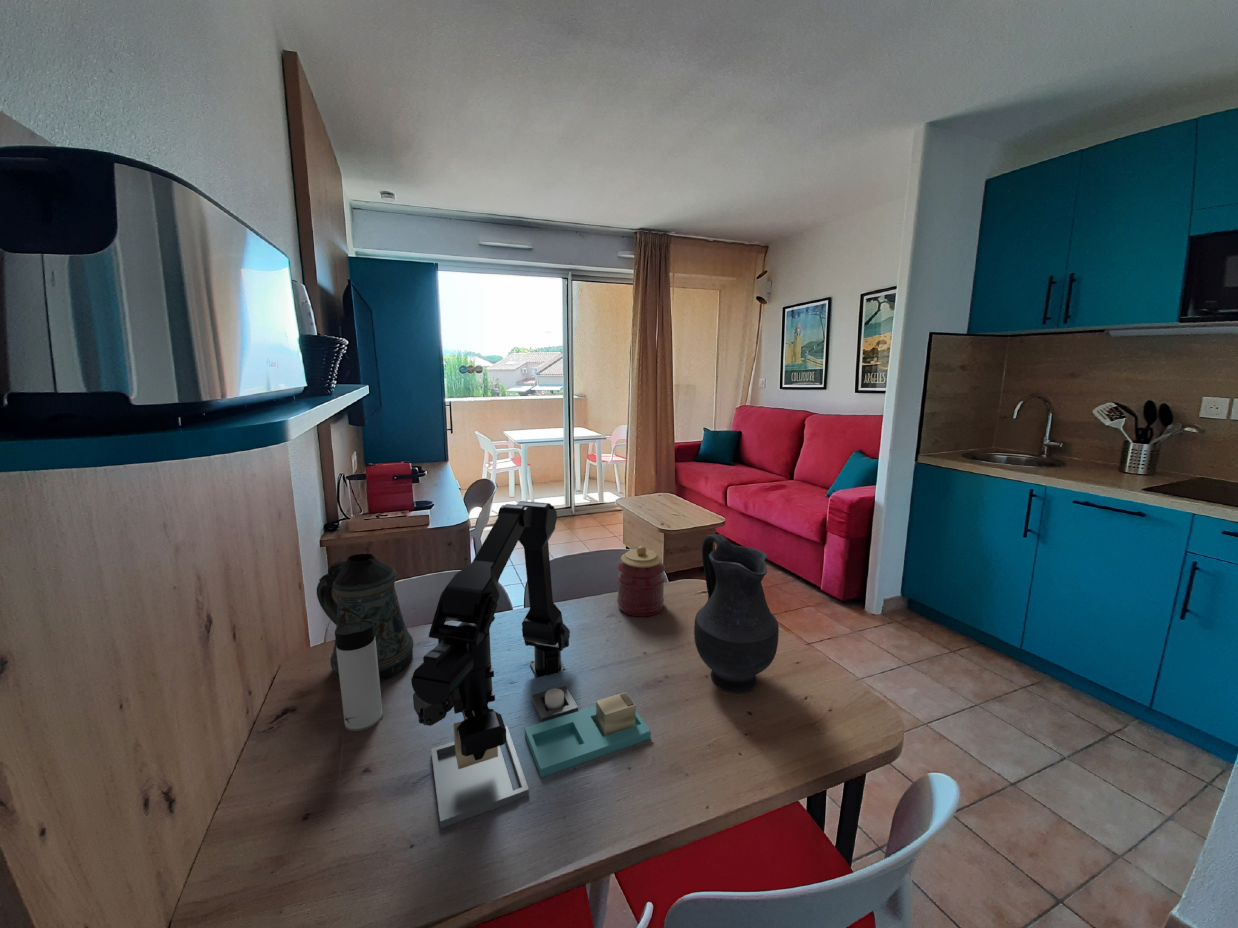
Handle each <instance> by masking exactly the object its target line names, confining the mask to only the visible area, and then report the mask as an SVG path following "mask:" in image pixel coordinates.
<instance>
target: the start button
mask: <svg viewBox="0 0 1238 928" xmlns="http://www.w3.org/2000/svg"><path fill="white" fill-rule="evenodd" d="M546 691H547V692H546V693H545V703H544V707H545V709H546V711H547V712H548V711H551V710H554V709H558V708H561V707H564V706H565V703H564V692H563V691H562V690H560V689H555V688H550V689H548V690H546Z"/></svg>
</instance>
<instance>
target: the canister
mask: <svg viewBox="0 0 1238 928" xmlns="http://www.w3.org/2000/svg"><path fill="white" fill-rule="evenodd" d="M617 569H618V571H619V573H618V575H617V577H616V578H617V598H616V599H617V600H616V601H617V605H618V609H619V610H620V611H621V612H623V613H624V614H627V615H629V616H633V617H641V618H642V617H643V618H644V617H650V616H651V617H652V616H654V615H657V614H659V613H660V612H661V611H662V609H663V607H664V605H665V598H664V583H665V576H664V572H665V570H666V566H665V564H664V563H663V558H662V556H661V555H660V554H658V553H656V551H653V550H652V549H647V548H646V547H645V546H644V545H639V546H638V547H637V548H635V549H634V548H633V549H631V550H628V551H627V552H625V553H623V554H622V555H621V556H620V561H619V563H618V564H617Z"/></svg>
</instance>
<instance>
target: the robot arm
mask: <svg viewBox="0 0 1238 928" xmlns="http://www.w3.org/2000/svg"><path fill="white" fill-rule="evenodd" d="M557 520H558V512H557V510H556V509H555V506H554V505H552V504H551V503H549V502H537V501H527V500H526V501H524V500H519V501H518V502H517V503H516V504H511V503H506V504H503V505H501V506H500V507H499V509H498V513H497V519H496V520H495V522H494V523H493V525H492V527H491V529H490V530H489V533H488V534H487V536H486V538H485V539H484V541H483V542H482V544H481V546H480V548H479V550H478V551H477V554H476V555H475V557H474V558H473V560H472V561H471V562H470V565H468V566H466V567H464V568H463V569H461V570H459V571H458V572H457V573H455V574H454V576H453V577H452V578H451V579H450V580H449V582H448V584H446V586H445V587H444V589H443V590H442V592H441V594H440V597H439V600H438V603H437V606H436V609H435V611H434V612H435V613H434V617H433V620H432V623H431V626H430V629H429V632H428V638H430V639H437V640H438V642H437V643H438V644H437V645H436V646H435V647H434V648H433V649H431V650H429V651H428V652H427V653H426V654H425V655H424V656H423V657H422V660H423V661H422V663H421V664H419V666H417V668H415V670H414V671H413V673H412V677H411V678H410V679H411V687H412V690H413V695H412V703H413V709H414V711H415V713H416V716H418V717H417V718H418V723H419V724H423V726H428V727H429V726H430V727H431V726H433V725H435V724H437V723H438V722H441V721H442V720H443V719H445V718H446V716H447V714H448V713H449V712H450V711H452V710H453V712H454V713H453V714H459V713H461V714H462V717H463V720H462V721H463V722H462V723H461V724H460V725H459V726H458V728H457V733H458V738H459V744H460V749H461V754H462V755H464V756H469V755H474V758H475V760H480V759H482V758H483V756H484V754H485V752H486V750H488V749H491V748H495V747H498V746H500V747H501V746H503V745H505V744H506V728H505V726H506V725H505V723H504V719H503V716H502V714H501V713H498V711H495V709H493V708H489V706H488V705H489V703H491V702H495V701H496V695H495V694H496V693H495V691H494V688H493V680H492V679H493V678H494V677H495V669H494V667H493V665H492V656H491V655H492V654H491V635H490V633H491V632H490V628H491V626H492V623H493V622H494V621H495V620H496V619H495V618H496V617H495V614H496V611H497V608H498V600H499V598H500V589H499V585H498V584H499V581H500V577H501V576H502V573H503V571H504V570H505V568H506V565H507V564H508V562H509V559H510V558H511V555H512V554H513V552H514V549H516V546H517V544H518V542H519V543H520V545H522V547H523V550H524V551H523V552H524V560H525V562H524V563H525V573H526V584H527V593H528V601H529V603H528V604H529V609H528V611H527V614H526V615H525V617H524V618H523V621H522V622H521V627H522V628H521V631H522V638H523V641H524V645H525V646H527V647H528V646H529V647H534V660H531V661H530V662H529V664H530V666H531V669H532V671H533V673H534V675H535V678H536V679H537V678H541V677H545V676H551V675H556V674H559V673H560V672H563V671H567V669H566V666H565V664H564V663H563V661H562V651H563V650H564V649H566V648H568V647H569V646H570V637H571V635H570V633H571V629H569V628H568V627H567V625H566V624H565V623H564V621H563V614H562V611H561V610H560V609H559V608H558V606H556V604H555V602H554V598H553V587H552V586H553V585H552V574H551V573H552V572H551V561H550V560H551V559H550V549H549V548H550V547H549V540H550V539H551V537H552V535H553V533H554V532H555V530H556V524H557ZM446 621H452V622H459V624H458V625H451V624H446Z"/></svg>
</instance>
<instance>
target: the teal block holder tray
mask: <svg viewBox="0 0 1238 928" xmlns="http://www.w3.org/2000/svg"><path fill="white" fill-rule="evenodd" d="M651 735H652V732H651V729H650V728H649V727H648V725H647V723H645V721H644V719H642V717H641V715H639V712H638V711H637V710H636V717H635V726H634V727H631V728H628V729H625V730H622V731H619V732H616V733H613V734H610V735H607V736H604V737H603V736H602V734H601V732H600V731H599V729H598V727H597V726H596V705H594V706H591V707H587V708H584V709H582V710H581V709H580V710H578V711H577V712H574V713H571V714H568V715H564V716H561V717H558V718H555V719H551V720H548V721H545V722H542V723H541V722H539V723H536V724H531V725H529V726H526V727H524V736H525V739H526V742H527V744H528V747H529V750H530V752H531V754H532V758H533V761H534V764H535V765H536V768H537V771H538V773H539V776H540V778H544V777H546V776H549V775H552V774H554V773H555V774H556V773H557V772H560V771H563V770H566V769H568V768H571V767H574V766H579V765H580V764H582V763H583V764H584V763H585V762H589V761H591V760H594V759H597V758H600V757H603V756H605V755H609V754H611V753H614V752H617V751H619V750H622V749H625V748H628V747H631V746H633V745H637V744H640V743H642V742H644V741H648V740H651V738H652V736H651Z"/></svg>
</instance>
